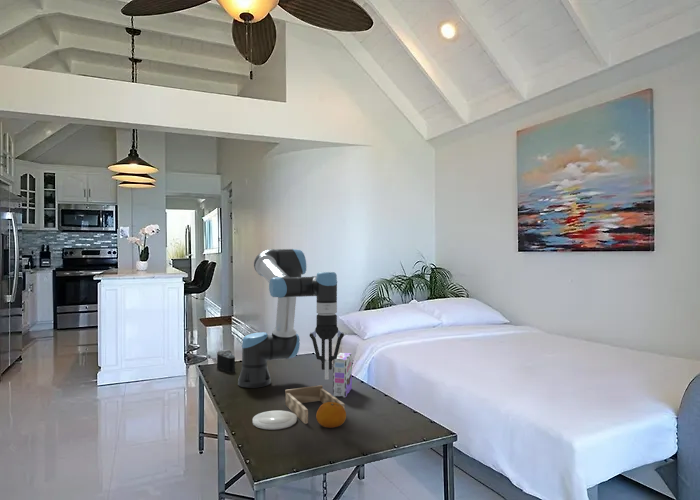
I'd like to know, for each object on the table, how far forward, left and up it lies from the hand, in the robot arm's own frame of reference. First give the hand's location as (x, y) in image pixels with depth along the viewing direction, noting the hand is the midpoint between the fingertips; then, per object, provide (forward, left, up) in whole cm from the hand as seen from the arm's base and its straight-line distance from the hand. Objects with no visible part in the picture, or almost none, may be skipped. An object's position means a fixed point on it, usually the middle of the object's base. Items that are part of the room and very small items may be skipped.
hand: (326, 378), depth 168 cm
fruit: (+4, 0, -16) cm, 17 cm away
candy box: (-29, +20, -16) cm, 39 cm away
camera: (-92, -18, -16) cm, 95 cm away
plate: (-8, -17, -16) cm, 25 cm away
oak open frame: (-13, 0, -16) cm, 21 cm away
